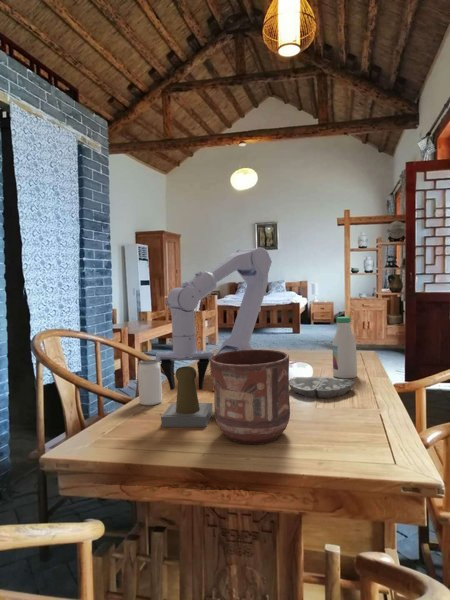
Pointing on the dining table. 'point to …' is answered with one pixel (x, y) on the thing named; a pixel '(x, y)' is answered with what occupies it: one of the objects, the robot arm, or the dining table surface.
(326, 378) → the brain slice
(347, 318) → the milk bottle
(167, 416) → the grey flat square block
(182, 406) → the olive bowling pin
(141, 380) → the can
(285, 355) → the pottery
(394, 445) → the dining table surface
